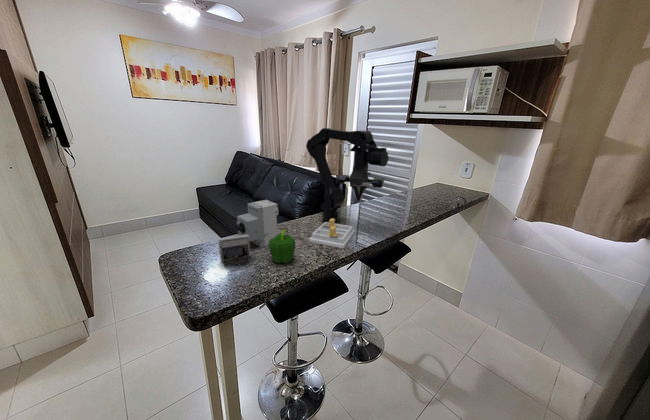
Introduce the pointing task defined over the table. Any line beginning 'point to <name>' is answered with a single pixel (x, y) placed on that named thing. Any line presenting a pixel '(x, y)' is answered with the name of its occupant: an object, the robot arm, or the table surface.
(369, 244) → the table surface
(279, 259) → the bell pepper
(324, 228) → the switch bank
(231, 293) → the table surface
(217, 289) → the table surface
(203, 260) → the table surface
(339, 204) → the robot arm
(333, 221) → the far tab
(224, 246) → the electrical switch
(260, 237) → the circuit breaker
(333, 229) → the near tab
